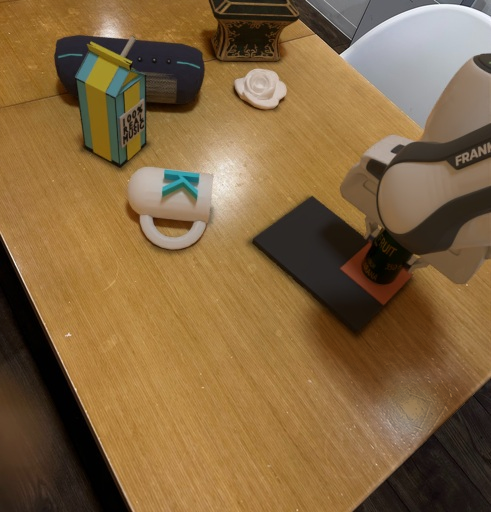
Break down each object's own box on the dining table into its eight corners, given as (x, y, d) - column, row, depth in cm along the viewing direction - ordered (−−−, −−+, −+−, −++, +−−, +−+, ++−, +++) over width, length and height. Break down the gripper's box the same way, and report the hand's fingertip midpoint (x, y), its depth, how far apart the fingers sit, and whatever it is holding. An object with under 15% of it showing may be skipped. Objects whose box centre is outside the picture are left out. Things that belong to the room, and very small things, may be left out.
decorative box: (277, 37, 108) (299, -62, 92) (289, 63, 103) (314, -37, 87) (186, 35, 103) (192, -70, 87) (193, 63, 98) (202, -44, 82)
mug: (126, 150, 67) (215, 161, 68) (132, 175, 76) (210, 184, 77) (115, 234, 64) (207, 243, 66) (122, 249, 73) (203, 257, 74)
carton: (151, 142, 83) (151, 42, 68) (121, 168, 78) (115, 67, 64) (114, 123, 84) (107, 21, 70) (84, 148, 80) (69, 44, 65)
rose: (285, 60, 95) (294, 91, 90) (280, 80, 99) (289, 111, 93) (234, 56, 93) (240, 89, 88) (231, 77, 97) (236, 109, 91)
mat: (410, 278, 74) (413, 274, 73) (356, 334, 67) (359, 330, 66) (310, 199, 81) (312, 194, 80) (251, 242, 74) (253, 237, 73)
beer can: (381, 253, 75) (415, 199, 65) (402, 281, 72) (440, 229, 63) (352, 262, 73) (383, 209, 63) (372, 292, 70) (407, 240, 61)
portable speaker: (56, 109, 84) (46, 55, 76) (62, 73, 90) (53, 20, 82) (203, 117, 89) (209, 68, 81) (200, 83, 94) (205, 33, 86)
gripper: (524, 225, 56) (462, 289, 67) (380, 127, 63) (346, 200, 74) (500, 254, 53) (439, 316, 64) (351, 147, 60) (320, 220, 71)
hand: (388, 253), depth 69 cm, fingers closed on beer can, 5 cm apart
